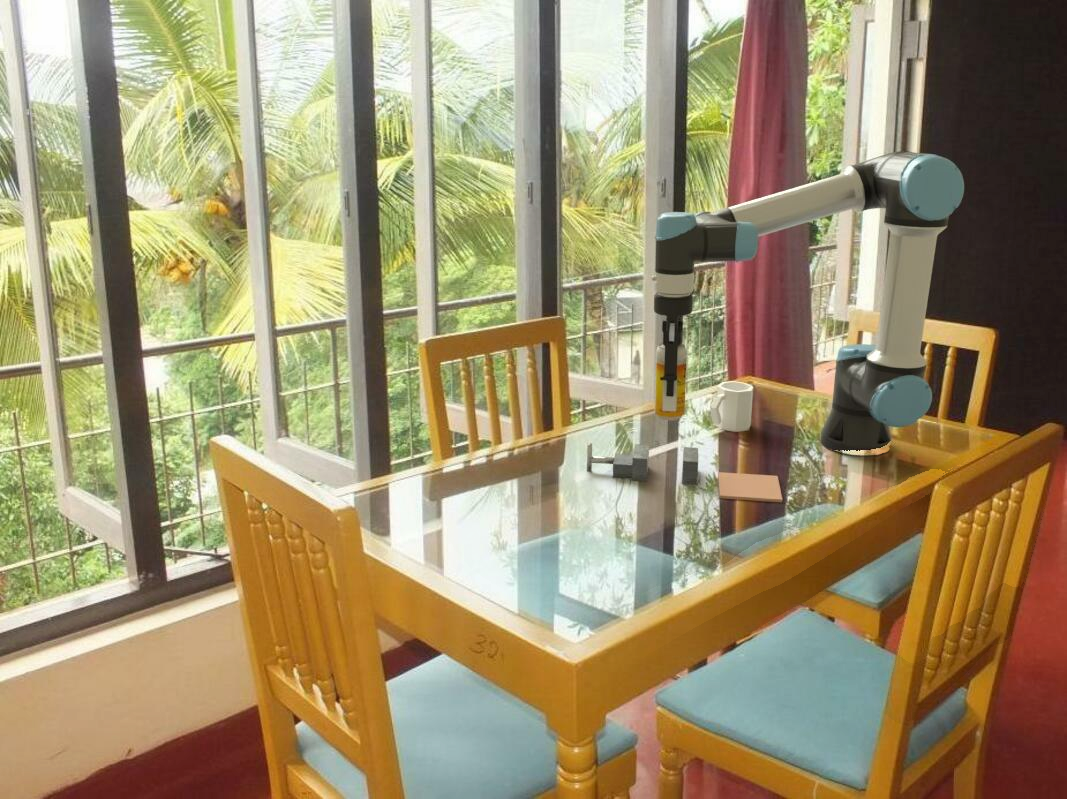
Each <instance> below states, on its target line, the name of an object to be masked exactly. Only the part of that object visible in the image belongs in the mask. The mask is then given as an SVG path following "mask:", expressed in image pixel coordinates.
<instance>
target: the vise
mask: <svg viewBox="0 0 1067 799" xmlns="http://www.w3.org/2000/svg"><path fill="white" fill-rule="evenodd" d="M586 450H587V451H586V472H592V468H593V467H592V466H593V464H604V465H612V478H616V479H617V478H618V479H631V481H632V482H633V481H634V482H647V481H648V472H649V470H648V469H649V458H650V444H637V443H635V444H634V448H633V453H631V454H630V453H629V454H628V453H627V454H626V453H615V454H614V457H613V456H612V457H610V456H597V455H596V456H594V455H593V443H592V442H588V443H587V448H586ZM682 453H683V454H682V467H681V468H682V472H681V475H682V476H681V484H682V485H693V486H694V485H696V486H697V485H698V471H699V447H689V446H688V447H687V446H683V452H682Z"/></svg>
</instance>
